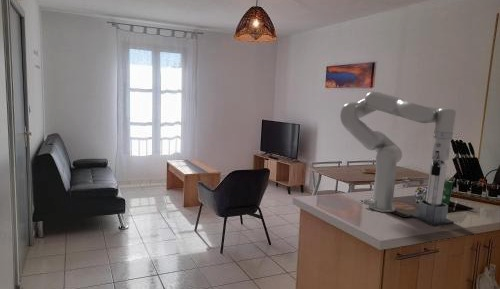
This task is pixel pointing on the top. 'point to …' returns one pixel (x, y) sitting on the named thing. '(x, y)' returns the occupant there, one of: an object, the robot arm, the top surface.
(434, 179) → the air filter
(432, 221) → the collar
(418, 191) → the passion flower
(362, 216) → the top surface
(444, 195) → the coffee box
